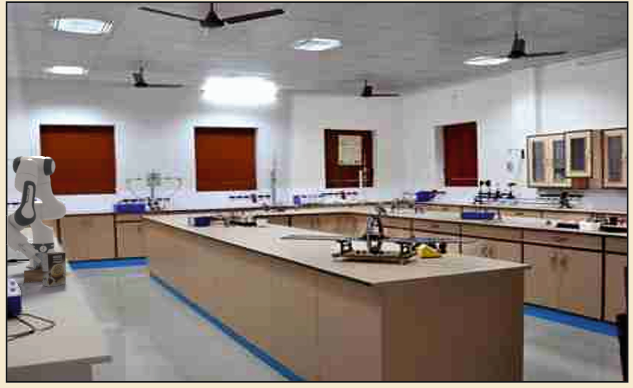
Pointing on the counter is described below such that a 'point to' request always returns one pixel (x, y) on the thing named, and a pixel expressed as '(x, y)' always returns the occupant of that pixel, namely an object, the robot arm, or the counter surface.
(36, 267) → the grey upright block
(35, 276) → the brown wooden block
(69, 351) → the counter surface
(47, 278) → the coffee box
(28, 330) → the counter surface
